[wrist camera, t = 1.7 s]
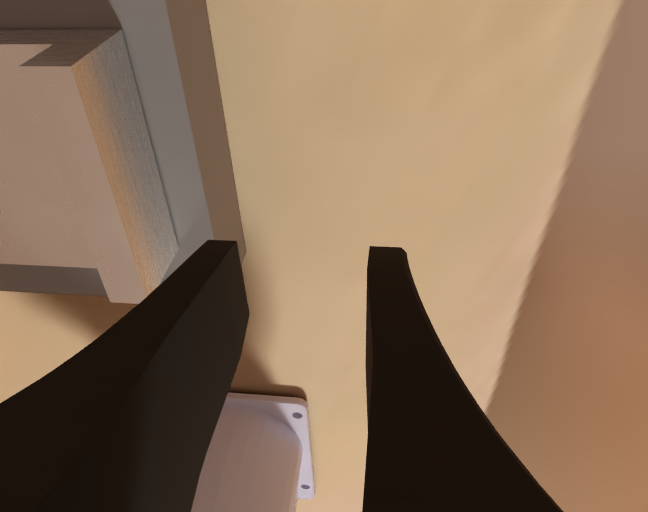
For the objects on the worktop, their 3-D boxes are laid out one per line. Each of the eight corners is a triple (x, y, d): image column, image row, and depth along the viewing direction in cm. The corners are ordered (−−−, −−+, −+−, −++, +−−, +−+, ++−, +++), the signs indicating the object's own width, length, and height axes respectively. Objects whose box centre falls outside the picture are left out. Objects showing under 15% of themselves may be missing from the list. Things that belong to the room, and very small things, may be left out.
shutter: (178, 248, 18) (148, 304, 16) (-15, 240, 19) (-68, 292, 17) (121, 29, 14) (70, 66, 12) (-128, 30, 14) (-218, 65, 12)
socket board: (245, 251, 22) (226, 303, 19) (-70, 238, 23) (-122, 283, 21) (188, -105, 14) (146, -90, 12) (-270, -89, 16) (-384, -73, 14)
